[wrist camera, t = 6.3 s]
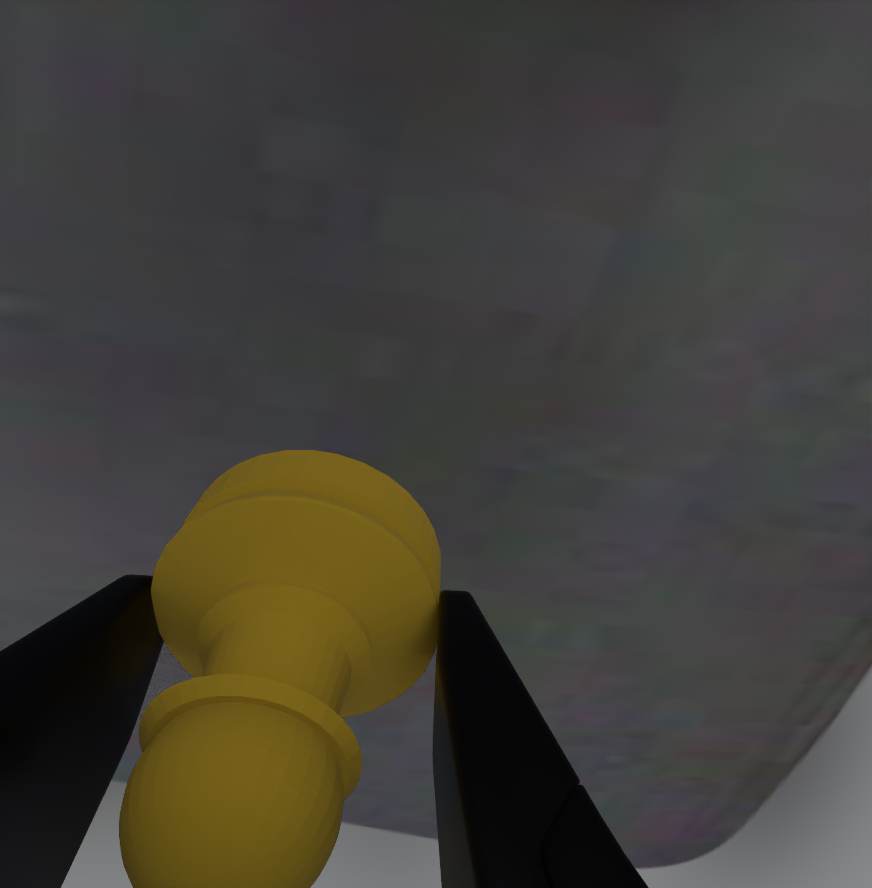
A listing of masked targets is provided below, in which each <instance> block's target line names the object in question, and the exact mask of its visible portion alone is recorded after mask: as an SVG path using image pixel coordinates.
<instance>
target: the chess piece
mask: <svg viewBox="0 0 872 888" xmlns="http://www.w3.org/2000/svg"><path fill="white" fill-rule="evenodd" d="M440 580H441V558H440V548H439V544H438V541H437V537H436V534H435V530H434V528H433V527H432V525H431V523H430V521H429V519H428V517H427V516H426V514H425V512H424V510H423V509H422V508H421V507H420V505H419V504H418V503H417V502H416V501H415V500H414V498H413V497H412V496H411V495H410V494H409V493H408V492H407V491H406V490H405V489H404V488H403V487H401V486H400V485H399V484H398V483H396V482H395V481H394V480H393V479H391V478H390V477H389V476H387V475H385V474H384V473H382V472H380V471H378V470H376V469H374V468H373V467H371V466H369V465H367V464H365V463H363V462H360V461H357V460H354V459H351V458H348V457H345V456H342V455H339V454H334V453H327V452H321V451H315V450H284V451H279V452H273V453H268V454H263V455H259V456H256V457H254V458H251V459H249V460H246V461H244V462H242V463H239V464H237V465H235V466H234V467H232V468H231V469H229V470H228V471H226V472H225V473H223V474H222V475H220V476H219V477H218V478H217V479H216V480H215V481H214V482H213V483H212V484H211V485H210V486H209V487H208V488H207V490H206V491H205V492H204V493H203V494H202V496H201V497H200V499H199V500H198V502H197V503H196V505H195V506H194V508H193V509H192V511H191V512H190V514H189V515H188V517H187V518H186V520H185V521H184V523H183V525H182V527H181V529H180V531H179V532H178V533H177V534H176V535H175V536H174V537H173V538H172V539H171V540H170V541H169V543H168V544H167V545H166V547H165V549H164V551H163V553H162V555H161V557H160V559H159V560H158V562H157V564H156V567H155V571H154V576H153V580H152V585H151V596H152V602H153V607H154V612H155V617H156V621H157V625H158V629H159V633H160V635H161V637H162V638H163V640H164V642H165V644H166V646H167V647H168V649H169V651H170V652H171V653H172V655H173V656H174V657H175V658H176V659H177V660H178V662H179V663H180V664H181V665H182V666H183V668H184V669H185V670H186V671H188V672H189V673H190V674H191V675H192V676H193V677H195V678H193V679H190V680H187V681H184V682H181V683H177V684H175V685H174V686H172V687H170V688H168V689H167V690H165V691H163V692H161V693H160V694H159V695H158V696H156V697H155V698H154V699H153V700H152V701H151V702H150V703H149V705H148V707H147V708H146V710H145V712H144V713H143V715H142V718H141V722H140V727H139V740H140V747H141V749H142V752H143V753H142V755H141V756H140V758H139V760H138V761H137V763H136V765H135V767H134V769H133V771H132V773H131V775H130V778H129V780H128V783H127V786H126V790H125V793H124V798H123V802H122V807H121V812H120V820H119V838H120V847H121V855H122V859H123V863H124V867H125V870H126V872H127V874H128V877H129V879H130V881H131V884H132V886H133V888H310V887H311V886H312V885H313V884H314V882H315V881H316V879H317V878H318V876H319V875H320V873H321V872H322V870H323V868H324V866H325V864H326V863H327V861H328V859H329V857H330V855H331V853H332V850H333V848H334V846H335V843H336V840H337V837H338V834H339V829H340V825H341V819H342V813H343V804H344V800H345V799H346V798H347V797H348V796H349V795H350V794H351V793H352V792H353V790H354V788H355V787H356V785H357V783H358V781H359V779H360V774H361V769H362V757H361V750H360V747H359V744H358V742H357V740H356V737H355V735H354V733H353V732H352V730H351V729H350V728H349V726H348V725H347V724H346V722H345V721H344V720H343V719H342V718H344V717H351V716H354V715H358V714H361V713H364V712H368V711H371V710H374V709H376V708H378V707H380V706H382V705H384V704H386V703H388V702H390V701H393V700H394V699H396V698H397V697H398V696H400V695H401V694H402V693H404V692H405V691H406V690H408V689H409V688H410V687H411V686H412V685H413V684H414V683H415V682H416V681H417V680H418V678H419V677H420V676H421V675H422V674H423V673H424V672H425V670H426V668H427V666H428V664H429V662H430V660H431V658H432V656H433V655H434V653H435V649H436V644H437V632H438V613H439V595H440Z"/></svg>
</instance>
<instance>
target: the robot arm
mask: <svg viewBox="0 0 872 888" xmlns="http://www.w3.org/2000/svg"><path fill="white" fill-rule="evenodd" d="M152 580H153V576H148V575H125V576H123V577H121V578H119V579H117V580H116V581H114V582H112V583H111V584H109V585H108V586H106V587H104V588H103V589H101V590H99V591H98V592H96V593H95V594H93V595H91V596H90V597H88V598H86V599H85V600H83V601H82V602H80V603H78V604H77V605H75V606H73V607H72V608H70V609H69V610H67V611H65V612H64V613H62V614H60V615H59V616H57V617H56V618H54V619H52V620H51V621H49V622H47V623H46V624H44V625H42V626H41V627H39V628H38V629H36V630H34V631H33V632H31V633H29V634H28V635H26V636H25V637H23V638H21V639H20V640H18V641H16V642H15V643H13V644H12V645H10V646H8V647H7V648H5V649H3V650H2V651H0V888H61V886H62V884H63V882H64V880H65V877H66V875H67V873H68V871H69V869H70V867H71V865H72V862H73V860H74V858H75V856H76V854H77V852H78V850H79V848H80V845H81V843H82V841H83V839H84V837H85V835H86V833H87V831H88V828H89V826H90V824H91V822H92V820H93V818H94V816H95V813H96V811H97V809H98V807H99V805H100V803H101V800H102V798H103V796H104V794H105V792H106V790H107V788H108V786H109V784H110V781H111V779H112V777H113V775H114V773H115V771H116V769H117V767H118V764H119V762H120V760H121V758H122V756H123V754H124V751H125V749H126V747H127V744H128V742H129V740H130V737H131V735H132V732H133V729H134V727H135V724H136V721H137V718H138V716H139V713H140V710H141V707H142V704H143V701H144V698H145V695H146V692H147V689H148V686H149V684H150V681H151V678H152V675H153V672H154V669H155V666H156V663H157V660H158V657H159V654H160V652H161V649H162V646H163V643H164V640H163V638H162V637H161V635H160V633H159V629H158V625H157V621H156V617H155V612H154V607H153V602H152V596H151V585H152ZM433 774H434V788H435V801H436V815H437V828H438V842H439V855H440V868H441V881H442V888H648V886H647V885H646V883H645V882H644V881H643V879H642V878H641V876H640V875H639V873H638V872H637V871H636V869H635V868H634V866H633V865H632V863H631V862H630V861H629V859H628V858H627V856H626V855H625V853H624V852H623V850H622V849H621V847H620V845H619V844H618V842H617V841H616V839H615V837H614V836H613V834H612V833H611V831H610V829H609V828H608V826H607V825H606V823H605V821H604V820H603V818H602V817H601V815H600V814H599V812H598V810H597V808H596V807H595V805H594V803H593V802H592V800H591V798H590V796H589V795H588V793H587V791H586V790H585V788H584V786H582V785H579V783H580V780H579V778H578V776H577V775H576V773H575V771H574V770H573V768H572V766H571V764H570V763H569V761H568V759H567V758H566V756H565V754H564V753H563V751H562V749H561V747H560V746H559V744H558V742H557V741H556V739H555V737H554V735H553V734H552V732H551V730H550V729H549V727H548V725H547V723H546V722H545V720H544V718H543V717H542V715H541V713H540V712H539V710H538V708H537V706H536V705H535V703H534V701H533V700H532V698H531V696H530V694H529V693H528V691H527V689H526V688H525V686H524V684H523V682H522V681H521V679H520V677H519V676H518V674H517V672H516V670H515V669H514V667H513V665H512V664H511V662H510V660H509V659H508V657H507V655H506V653H505V652H504V650H503V648H502V647H501V645H500V643H499V641H498V640H497V638H496V636H495V635H494V633H493V631H492V629H491V628H490V626H489V624H488V623H487V621H486V619H485V618H484V616H483V614H482V612H481V611H480V609H479V607H478V606H477V604H476V602H475V600H474V599H473V597H472V596H471V594H470V593H469V592H467V591H452V590H443V591H441V593H440V595H439V613H438V632H437V653H436V676H435V699H434V723H433Z"/></svg>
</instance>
